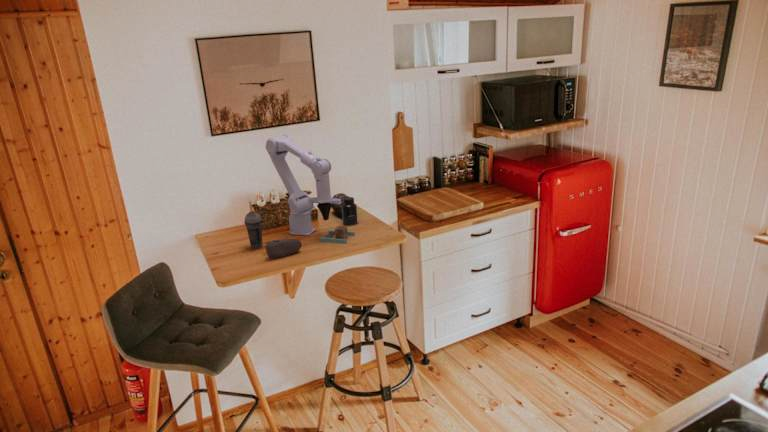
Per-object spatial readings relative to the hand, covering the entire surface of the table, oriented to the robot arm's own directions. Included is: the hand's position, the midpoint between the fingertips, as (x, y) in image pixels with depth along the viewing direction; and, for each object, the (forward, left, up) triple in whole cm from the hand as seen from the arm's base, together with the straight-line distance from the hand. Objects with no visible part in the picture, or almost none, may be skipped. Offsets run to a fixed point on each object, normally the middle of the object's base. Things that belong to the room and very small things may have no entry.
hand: (326, 219), depth 225 cm
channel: (+4, 0, -8) cm, 9 cm away
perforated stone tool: (-9, -21, -9) cm, 25 cm away
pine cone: (-5, +30, -9) cm, 31 cm away
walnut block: (+6, 0, -8) cm, 11 cm away
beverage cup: (-26, -16, -8) cm, 31 cm away
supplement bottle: (+2, +19, -8) cm, 21 cm away
